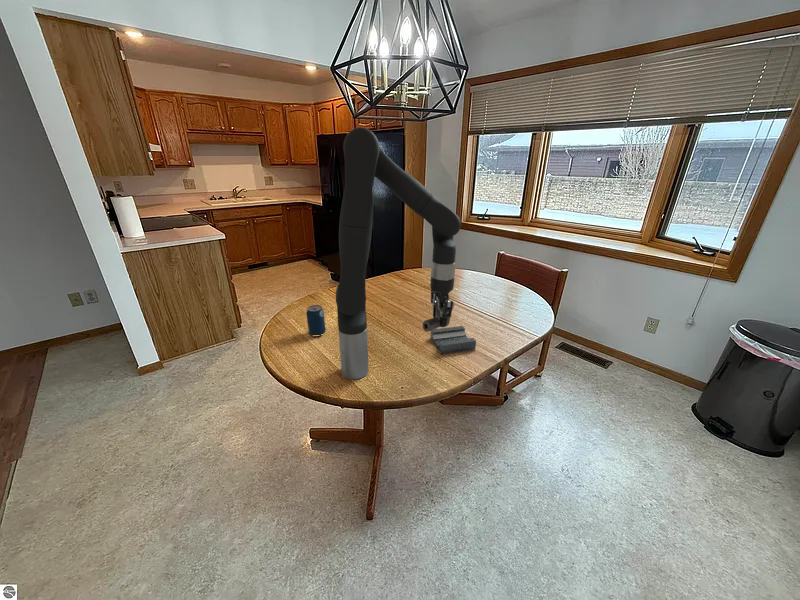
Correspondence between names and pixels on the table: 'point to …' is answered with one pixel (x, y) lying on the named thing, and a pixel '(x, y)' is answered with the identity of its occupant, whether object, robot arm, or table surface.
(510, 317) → the table surface
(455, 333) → the v block
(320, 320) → the soda can
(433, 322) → the pipe
